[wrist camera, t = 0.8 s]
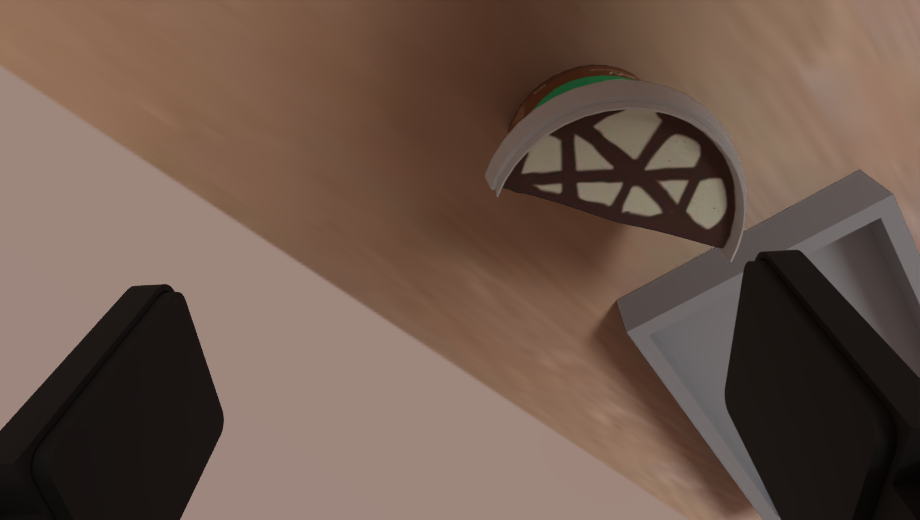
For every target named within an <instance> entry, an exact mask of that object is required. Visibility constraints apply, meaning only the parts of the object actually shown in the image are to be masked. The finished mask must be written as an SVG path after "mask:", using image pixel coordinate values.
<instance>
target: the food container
mask: <svg viewBox="0 0 920 520" xmlns="http://www.w3.org/2000/svg"><path fill="white" fill-rule="evenodd" d="M484 176H485V178H486V180H487V182H488V185H489V187H490V189H492V190H495V192H496V197H498V196H499V194H500V192H501V190H502V188H505V189H509V190H512V191H514V192H517V193H524V194H528V195H533V196H536V197H540V198H543V199H547V200H550V201H553V202H557V203H560V204H563V205H566V206H570V207H573V208H576V209H579V210H582V211H585V212H588V213H591V214H594V215H596V216H599V217H603V218H606V219H609V220H611V221H615V222H618V223H623V224H627V225H632V226H636V227H641V228H646V229H650V230H655V231H659V232H663V233H667V234H671V235H674V236H678V237H682V238H685V239H689V240H692V241H696V242H700V243H703V244H707V245H710V246H714V247H717V248H719V249H720V250H721V251H722V252H723V254H724V255H725V256H726V257H727V258H728V260H729V261H730V262H732V261H733V258H734V256H735V254H736V252H737V250H738V248H739V245H740V242H741V238H742V235H743V232H744V227H745V220H746V212H747V187H746V182H745V178H744V174H743V170H742V166H741V163H740V160H739V157H738V154H737V151H736V149H735V147H734V145H733V143H732V140H731V138H730V136H729V134H728V133H727V132H726V130H725V129H724V127H723V126H722V125H721V123H720V122H719V121H718V119H717V118H716V117H715V116H714V115H713V114H712V113H710V112H709V111H708V110H707V109H706V108H705V107H704V106H703V105H702V104H700V103H698V102H697V101H695V100H694V99H692V98H691V97H689V96H687V95H686V94H684V93H681V92H679V91H677V90H674V89H672V88H669V87H667V86H664V85H659V84H654V83H650V82H645V81H642V80H640V79H639V78H637V77H636V76H635V75H633V74H632V73H630V72H627V71H625V70H622V69H620V68H616V67H611V66H606V65H588V66H580V67H576V68H572V69H569V70H565V71H563V72H561V73H559V74H557V75H554V76H552V77H551V78H549V79H548V80H546V81H545V82H543V83H542V84H540V85H539V86H538V87H537V88H536V89H535V90H534V91H533V92H531V93H530V94H529V96H528V97H527V98H526V99H525V100H524V102H523V103H522V104H521V106H520V107H519V109H518V111H517V112H516V114H515V115H514V118H513V120H512V123H511V125H510V127H509V130H508V135H507V137H506V138H505V139H504V140H503V141H502V143H501V144H500V146H499V148H498V149H497V151H496V152H495V154H494V156H493V157H492V159H491V161H490V164H489V166H488V168H487V171H486V173H485V175H484Z"/></svg>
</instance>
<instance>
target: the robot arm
mask: <svg viewBox="0 0 920 520" xmlns="http://www.w3.org/2000/svg"><path fill="white" fill-rule="evenodd" d="M724 394H725V404H726V408H727V411H728V413H729V415H730V417H731V420H732V422H733V424H734V426H735V428H736V430H737V432H738V434H739V436H740V438H741V440H742V442H743V444H744V446H745V448H746V450H747V452H748V454H749V456H750V458H751V460H752V462H753V464H754V466H755V468H756V470H757V472H758V474H759V476H760V478H761V480H762V482H763V484H764V486H765V488H766V490H767V492H768V494H769V496H770V498H771V500H772V503H773V505H774V507H775V509H776V511H777V513H778V515H779V517H780V519H781V520H920V378H919V377H918V376H917V375H916V374H915V373H914V372H913V370H912V369H911V368H910V367H909V366H908V365H907V364H906V363H905V362H904V361H903V360H902V359H901V358H900V357H899V355H898V354H897V353H896V352H895V351H894V350H893V349H892V348H891V347H890V346H889V345H888V344H887V343H886V342H885V340H884V339H883V338H882V337H881V336H880V335H879V334H878V333H877V332H876V331H875V330H874V329H873V328H872V327H871V325H870V324H869V323H868V322H867V321H866V320H865V319H864V318H863V317H862V316H861V315H860V314H859V313H858V312H857V310H856V309H855V308H854V307H853V306H852V305H851V304H850V303H849V302H848V301H847V300H846V299H845V298H844V296H843V295H842V294H841V293H840V292H839V291H838V290H837V289H836V288H835V287H834V286H833V285H832V284H831V283H830V281H829V280H828V279H827V278H826V277H825V276H824V275H823V274H822V273H821V272H820V271H819V270H818V269H817V268H816V266H815V265H814V264H813V263H812V262H811V261H810V260H809V259H808V258H807V257H806V256H805V255H804V254H803V253H802V252H801V251H800V250H781V251H763V252H760V253H758V255H757V257H756V258H755V261H748V262H747V263H746V264H745V267H744V271H743V277H742V283H741V290H740V296H739V302H738V308H737V315H736V321H735V327H734V334H733V340H732V346H731V353H730V359H729V365H728V372H727V378H726V384H725V393H724ZM223 422H224V417H223V411H222V408H221V405H220V402H219V399H218V396H217V393H216V390H215V387H214V384H213V381H212V378H211V375H210V372H209V369H208V366H207V363H206V360H205V357H204V354H203V351H202V348H201V345H200V342H199V339H198V336H197V333H196V330H195V327H194V324H193V321H192V318H191V315H190V312H189V309H188V306H187V303H186V300H185V298H184V296H183V295H182V294H181V293H179V292H174V290H173V289H172V287H171V286H169V285H167V284H162V285H143V286H132V287H130V288H129V289H128V290H127V291H126V292H125V293H124V294H123V295H122V296H121V297H120V299H119V300H118V301H117V302H116V303H115V304H114V305H113V306H112V307H111V309H110V310H109V311H108V312H107V313H106V314H105V315H104V316H103V318H102V319H101V320H100V321H99V322H98V323H97V324H96V325H95V326H94V328H92V330H91V331H90V332H89V333H88V334H87V335H86V336H85V337H84V338H83V340H82V341H81V342H80V343H79V344H78V345H77V346H76V347H75V348H74V350H73V351H72V352H71V353H70V354H69V355H68V356H67V357H66V358H65V360H64V361H63V362H62V363H61V364H60V365H59V366H58V368H56V370H55V371H54V372H53V373H52V374H51V375H50V376H49V377H48V378H47V380H46V381H45V382H44V383H43V384H42V385H41V386H40V387H39V388H38V390H37V391H36V392H35V393H34V394H33V395H32V396H31V397H30V399H28V401H27V402H26V403H25V404H24V405H23V406H22V407H21V408H20V410H19V411H18V412H17V413H16V414H15V415H14V416H13V417H12V418H11V420H10V421H9V422H8V423H7V424H6V425H5V426H4V427H3V428H2V429H1V431H0V520H180V518H181V516H182V514H183V512H184V510H185V508H186V506H187V504H188V502H189V500H190V498H191V496H192V493H193V491H194V489H195V487H196V485H197V483H198V481H199V479H200V477H201V475H202V473H203V470H204V468H205V466H206V464H207V462H208V460H209V458H210V456H211V454H212V452H213V450H214V447H215V446H216V443H217V441H218V439H219V437H220V435H221V432H222V430H223Z"/></svg>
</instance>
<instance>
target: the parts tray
mask: <svg viewBox="0 0 920 520" xmlns="http://www.w3.org/2000/svg"><path fill="white" fill-rule="evenodd" d="M781 250H800V251H801V252H802V253H803V254H804V255H805V256H806V257H807V258H808V259H809V260H810V261H811V262H812V263H813V264H814V265H815V266H816V268H817V269H818V270H819V271H820V272H821V273H822V274H823V275H824V276H825V277H826V278H827V279H828V280H829V281H830V283H831V284H832V285H833V286H834V287H835V288H836V289H837V290H838V291H839V292H840V293H841V294H842V295H843V296H844V298H845V299H846V300H847V301H848V302H849V303H850V304H851V305H852V306H853V307H854V308H855V309H856V310H857V312H858V313H859V314H860V315H861V316H862V317H863V318H864V319H865V320H866V321H867V322H868V323H869V324H870V325H871V327H872V328H873V329H874V330H875V331H876V332H877V333H878V334H879V335H880V336H881V337H882V338H883V339H884V340H885V342H886V343H887V344H888V345H889V346H890V347H891V348H892V349H893V350H894V351H895V352H896V353H897V354H898V355H899V357H900V358H901V359H902V360H903V361H904V362H905V363H906V364H907V365H908V366H909V367H910V368H911V369H912V370H913V372H914V373H915V374H916V375H917V376H918V377H919V378H920V255H919V252H918V250H917V248H916V245H915V243H914V241H913V238H912V236H911V234H910V231H909V229H908V227H907V224H906V222H905V220H904V217H903V215H902V213H901V210H900V208H899V206H898V203H897V201H896V199H895V196H894V194H893V193H891V192H890V191H889V190H887V189H886V188H885V187H883V186H882V185H880V184H879V183H878V182H876V181H875V180H874V179H872V178H871V177H870V176H868V175H867V174H865V173H864V172H863V171H861V170H858V171H856V172H854V173H853V174H851V175H849V176H847V177H845V178H843V179H841V180H840V181H838V182H836V183H834V184H832V185H830V186H828V187H827V188H825V189H823V190H821V191H819V192H817V193H815V194H814V195H812V196H810V197H808V198H806V199H804V200H802V201H801V202H799V203H797V204H795V205H793V206H791V207H789V208H788V209H786V210H784V211H782V212H780V213H778V214H776V215H775V216H773V217H771V218H769V219H767V220H765V221H763V222H762V223H760V224H758V225H756V226H754V227H752V228H750V229H749V230H747V231H745V232H743V235H742V238H741V242H740V245H739V248H738V250H737V252H736V254H735V256H734V258H733V261H732V262H730V261H729V260H728V258H727V257H726V256H725V255H724V254H723V252H722V251H721V250H720V249H719V248H717V247H715V248H713V249H711V250H709V251H708V252H706V253H704V254H702V255H700V256H698V257H696V258H695V259H693V260H691V261H689V262H687V263H685V264H683V265H682V266H680V267H678V268H676V269H674V270H672V271H670V272H669V273H667V274H665V275H663V276H661V277H659V278H657V279H656V280H654V281H652V282H650V283H648V284H646V285H644V286H643V287H641V288H639V289H637V290H635V291H633V292H631V293H630V294H628V295H626V296H624V297H622V298H620V299H618V300H617V301H616V302H617V305H618V308H619V311H620V314H621V317H622V320H623V323H624V326H625V329H626V332H627V334H628V335H629V336H630V338H631V339H632V340H633V342H634V343H635V345H636V346H637V347H638V349H639V350H640V351H641V353H642V354H643V356H644V357H645V358H646V360H647V361H648V362H649V364H650V365H651V367H652V368H653V369H654V371H655V372H656V373H657V375H658V376H659V378H660V379H661V380H662V382H663V383H664V384H665V386H666V387H667V389H668V390H669V391H670V393H671V394H672V395H673V397H674V398H675V400H676V401H677V402H678V404H679V405H680V406H681V408H682V409H683V411H684V412H685V413H686V415H687V416H688V418H689V419H690V420H691V422H692V423H693V424H694V426H695V427H696V429H697V430H698V431H699V433H700V434H701V435H702V437H703V438H704V440H705V441H706V442H707V444H708V445H709V446H710V448H711V449H712V451H713V452H714V453H715V455H716V456H717V457H718V459H719V460H720V462H721V463H722V464H723V466H724V467H725V468H726V470H727V471H728V473H729V474H730V475H731V477H732V478H733V479H734V481H735V482H736V484H737V485H738V486H739V488H740V489H741V490H742V492H743V493H744V495H745V496H746V497H747V499H748V500H749V501H750V503H751V504H752V506H753V507H754V508H755V510H756V511H757V513H758V514H759V515H760V517H761V518H762V519H763V520H781V519H780V517H779V515H778V513H777V511H776V509H775V507H774V505H773V503H772V500H771V498H770V496H769V494H768V492H767V490H766V488H765V486H764V484H763V482H762V480H761V478H760V476H759V474H758V472H757V470H756V468H755V466H754V464H753V462H752V460H751V458H750V456H749V454H748V452H747V450H746V448H745V446H744V444H743V442H742V440H741V438H740V436H739V434H738V432H737V430H736V428H735V426H734V424H733V422H732V420H731V417H730V415H729V413H728V411H727V408H726V404H725V394H724V393H725V384H726V378H727V372H728V365H729V359H730V353H731V346H732V340H733V334H734V327H735V321H736V315H737V308H738V302H739V296H740V290H741V283H742V277H743V271H744V267H745V264H746V263H747V262H748V261H755V258H756V257H757V255H758V253H760V252H763V251H781Z"/></svg>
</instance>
